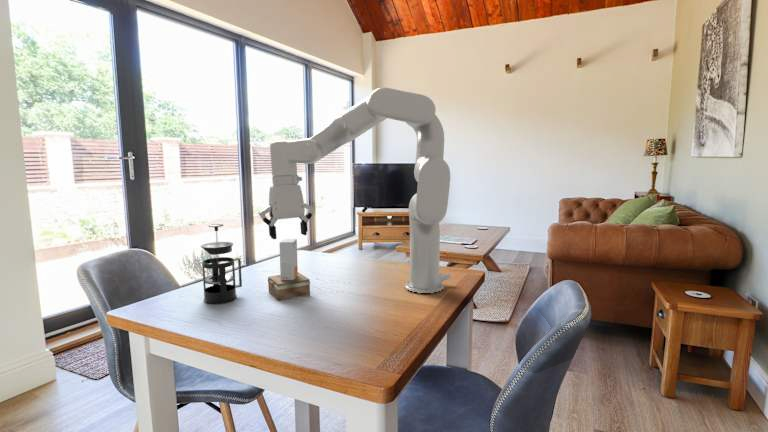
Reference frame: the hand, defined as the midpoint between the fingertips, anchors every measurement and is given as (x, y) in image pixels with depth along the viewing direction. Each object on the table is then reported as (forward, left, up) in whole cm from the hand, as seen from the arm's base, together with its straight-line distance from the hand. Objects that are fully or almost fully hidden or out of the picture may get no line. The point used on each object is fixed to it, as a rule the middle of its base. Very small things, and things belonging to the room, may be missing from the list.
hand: (289, 236), depth 132 cm
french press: (+20, -6, -18) cm, 28 cm away
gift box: (+1, 0, -18) cm, 18 cm away
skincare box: (0, 0, -13) cm, 13 cm away
